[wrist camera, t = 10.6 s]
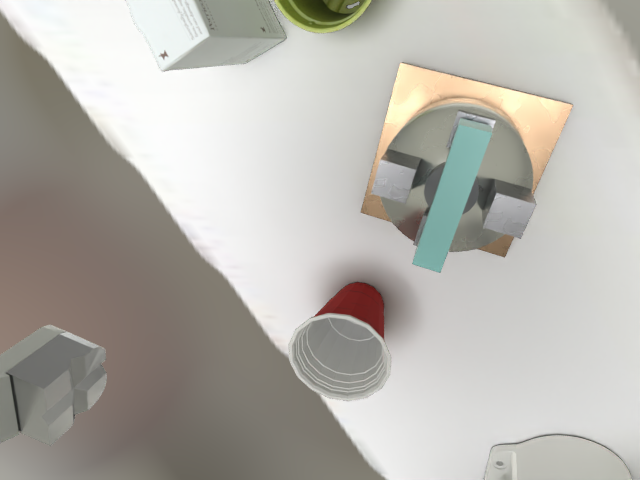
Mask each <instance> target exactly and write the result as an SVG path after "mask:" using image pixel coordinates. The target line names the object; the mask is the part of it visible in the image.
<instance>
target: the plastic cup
mask: <svg viewBox="0 0 640 480" xmlns="http://www.w3.org/2000/svg"><path fill="white" fill-rule="evenodd" d="M289 361H290V363H291V365H292V367H293V369H294V371H295V373H296V375H297V377H298V378H299V379H300V380H302V381H303V382H304V383H305V384H306V385H307V386H308V387H309V388H310V389H311V390H313V391H315V392H317V393H319V394H321V395H323V396H325V397H327V398H331V399H337V400H344V401H352V400H358V399H364V398H367V397H369V396H371V395H372V394H374V393H375V392H377V391H379V390H380V389H382V387H383V385H384V384H385V382H386V381H387V379H388V377H389V376H390V368H391V356H390V353H389V351H388V349H387V346H386V344H385V341H384V303H383V300H382V297H381V295H380V293H379V292H378V291H377V290H376V289H375V288H374V287H372V286H370V285H368V284H366V283H359V282H356V283H352V284H349V285H347V286H345V287H344V288H343V289H341V290H340V291H339V292H338V293H337V294H336V295H335V296H334V297H333V298H331V299H330V300H329V301H328V302H327V304H326V305H325V306H324V307H323V308H322V309H321V310H320V311H319V312H318V313H317V314H316V315H315V316H314V317H311V318H310V319H308V320H307V321H306V322H304V323H303V324H302V325H301V326H299V327H298V328H297V329H296V330H295V332H294V334H293V336H292V338H291V340H290V343H289Z"/></svg>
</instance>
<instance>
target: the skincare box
mask: <svg viewBox="0 0 640 480" xmlns="http://www.w3.org/2000/svg"><path fill="white" fill-rule="evenodd" d="M125 1H126V3H127V5H128V7H129V9H130V13H131V17H132V19H133V22H134V24H135V25H136V27H137V29H138V30H139V31H140V32H141V33H142V34H143V36H144V37H145V39H146V41H147V43H148V45H149V47H150V49H151V51H152V53H153V55H154V57H155V59H156V62H157V64H158V66H159V68H160V70H161V71H162V72H164V71H169V70H179V69H190V68H201V67H212V66H223V65H235V64H245V63H247V62H249V61H251V60H252V59H254V58H256V57H257V56H259V55H261V54H262V53H264V52H265V51H267V50H269V49H270V48H272V47H273V46H275V45H277V44H278V43H280V42H282V41H283V40H285V39H286V35H285V34H284V32H283V30H282V28H281V26H280V24H279V22H278V20H277V18H276V16H275V14H274V12H273V10H272V8H271V6H270V3H269V1H268V0H125Z"/></svg>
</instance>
